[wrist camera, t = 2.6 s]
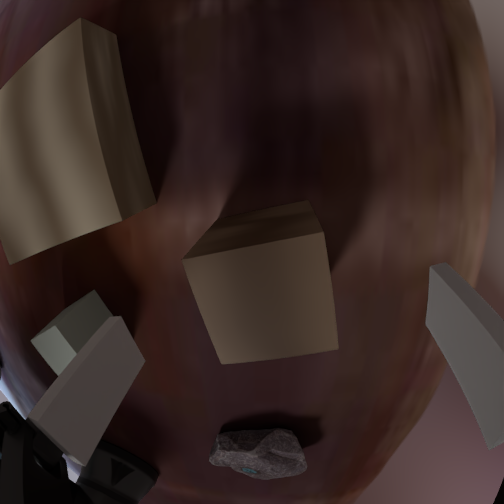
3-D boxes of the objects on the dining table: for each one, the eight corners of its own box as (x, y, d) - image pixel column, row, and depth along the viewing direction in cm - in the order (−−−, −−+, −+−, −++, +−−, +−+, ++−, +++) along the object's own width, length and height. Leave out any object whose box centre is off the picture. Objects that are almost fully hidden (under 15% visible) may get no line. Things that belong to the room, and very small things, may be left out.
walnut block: (240, 298, 20) (221, 364, 14) (217, 219, 18) (181, 259, 12) (323, 283, 19) (338, 348, 13) (308, 199, 17) (323, 231, 11)
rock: (200, 422, 27) (191, 454, 23) (301, 418, 25) (301, 454, 21) (222, 453, 30) (216, 480, 26) (308, 450, 28) (308, 479, 24)
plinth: (44, 245, 21) (9, 265, 17) (14, 115, 17) (-23, 118, 12) (158, 202, 19) (122, 220, 14) (118, 36, 14) (80, 17, 9)
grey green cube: (99, 353, 25) (71, 390, 19) (65, 308, 23) (30, 340, 18) (133, 341, 23) (103, 384, 18) (95, 289, 22) (55, 325, 16)
